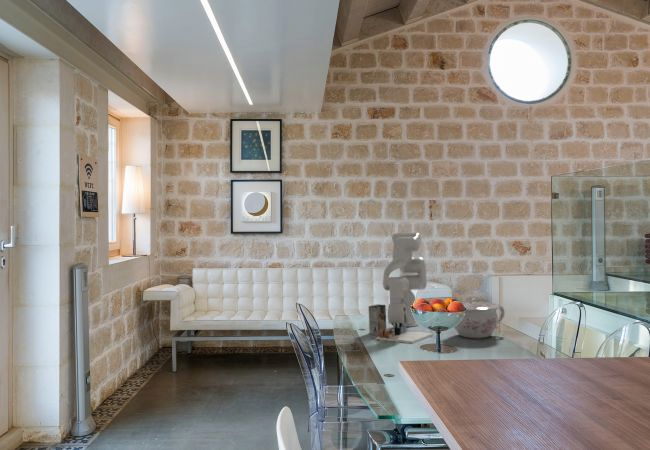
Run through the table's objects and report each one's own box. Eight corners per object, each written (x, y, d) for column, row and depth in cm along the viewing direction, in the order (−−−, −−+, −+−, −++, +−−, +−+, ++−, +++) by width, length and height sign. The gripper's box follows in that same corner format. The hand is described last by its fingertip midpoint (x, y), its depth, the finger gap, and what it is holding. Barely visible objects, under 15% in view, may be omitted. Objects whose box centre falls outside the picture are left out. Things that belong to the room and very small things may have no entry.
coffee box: (377, 331, 322) (376, 304, 323) (386, 332, 319) (385, 304, 319) (369, 333, 315) (368, 306, 315) (378, 334, 311) (377, 306, 311)
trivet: (398, 332, 318) (398, 329, 318) (432, 335, 304) (432, 333, 304) (376, 339, 299) (376, 337, 299) (412, 343, 285) (411, 341, 285)
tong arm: (401, 331, 311) (400, 324, 311) (405, 332, 309) (405, 325, 309) (384, 337, 295) (384, 330, 295) (388, 338, 294) (388, 330, 294)
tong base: (399, 330, 315) (399, 321, 315) (407, 331, 312) (407, 322, 312) (379, 337, 298) (378, 328, 298) (387, 338, 294) (387, 328, 294)
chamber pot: (443, 339, 294) (442, 301, 294) (456, 330, 318) (455, 294, 318) (497, 343, 281) (496, 303, 281) (506, 333, 305) (505, 296, 305)
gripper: (412, 301, 296) (413, 335, 296) (388, 299, 305) (389, 332, 305) (405, 303, 290) (406, 337, 290) (381, 301, 299) (382, 334, 299)
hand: (397, 334), depth 297 cm, fingers closed
